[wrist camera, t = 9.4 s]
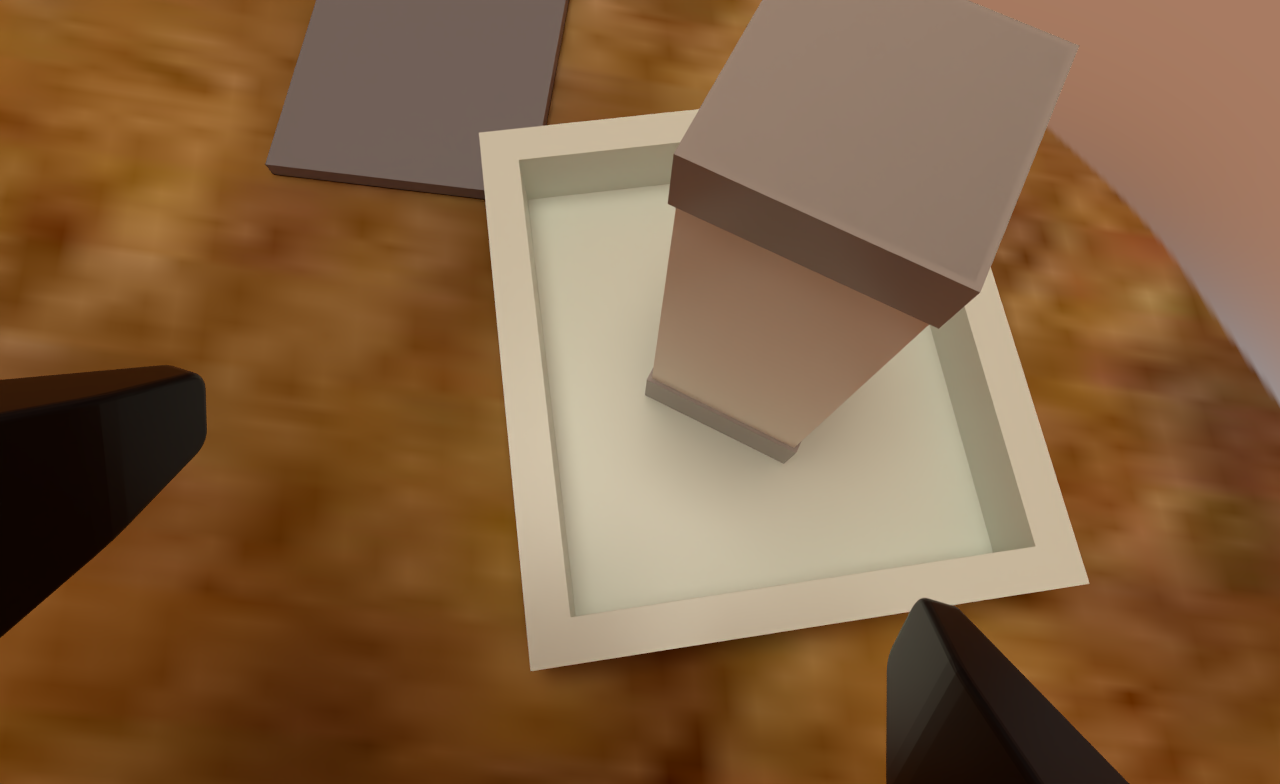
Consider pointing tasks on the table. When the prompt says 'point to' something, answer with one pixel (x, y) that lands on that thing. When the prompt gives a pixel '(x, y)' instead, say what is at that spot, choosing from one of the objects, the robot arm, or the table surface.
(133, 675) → the table surface
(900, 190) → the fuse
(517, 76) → the holder plate
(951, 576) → the parts tray
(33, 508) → the robot arm
